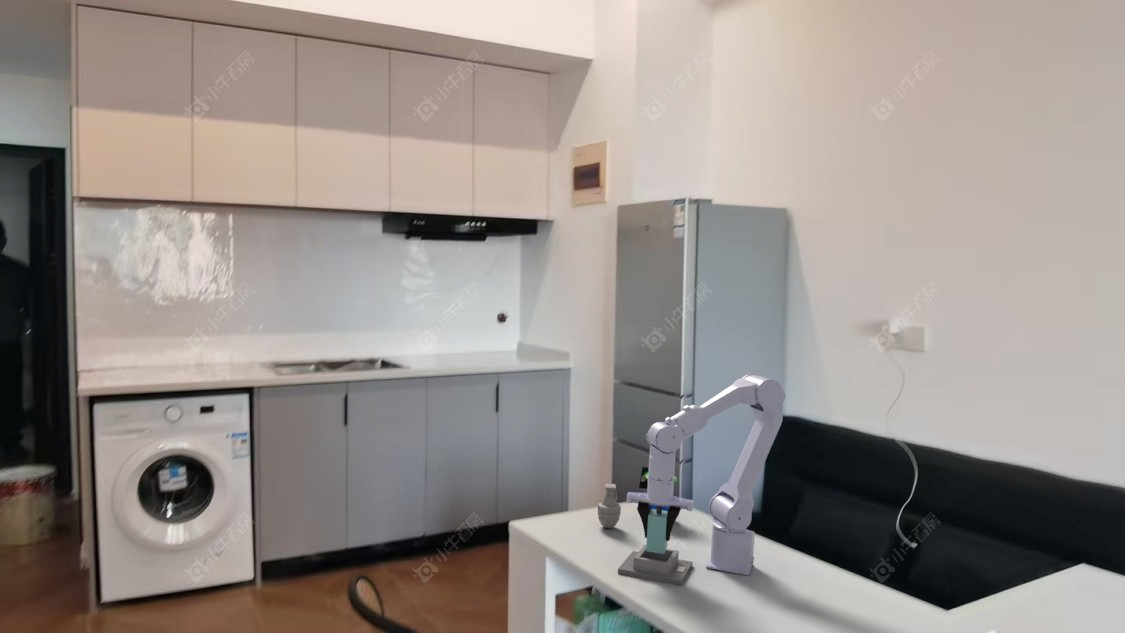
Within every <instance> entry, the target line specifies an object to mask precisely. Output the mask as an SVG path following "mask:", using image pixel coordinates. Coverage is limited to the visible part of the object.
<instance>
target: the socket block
mask: <svg viewBox="0 0 1125 633" xmlns="http://www.w3.org/2000/svg"><path fill="white" fill-rule="evenodd" d="M646 545H647V544H644V545H642V547H641V548H640V549H639V551H636V550H633V551H631V553H630V554H629V555H628V556H627V558H626V559H625V560H624V561H623V562H622V564H620V566H619V567H617V568H618V569H617V574H620V575H626V576H630V577H634V578H635V577H636V578H639V579H640V578H641V579H645V580H650V579H651V581H655V582H656V581H657V582H661V583H664V584H665V583H667V584H672V585H676V586H682V585H683V583H684V581H685V580H686V578H687V576H688V575H689V573H690V571H691V569H692V567H693V563H694V562H693V561H691V560H690V561H689V560H685V559H680V558H679V554H680V551H679V550H675V549H670V548H666V551H665V553H664V554H661V553H655V552H648V551H646Z"/></svg>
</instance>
